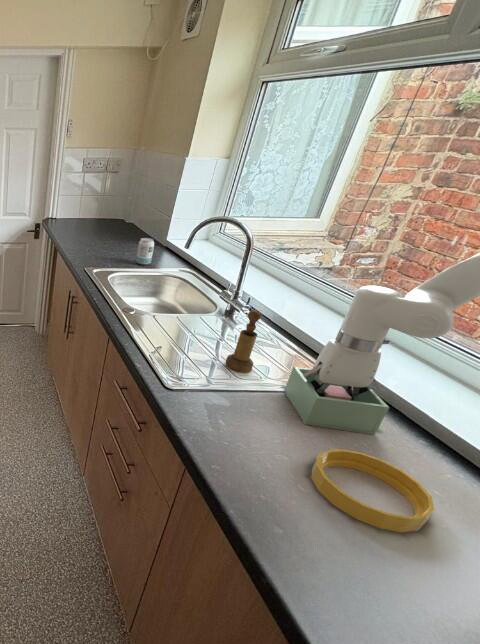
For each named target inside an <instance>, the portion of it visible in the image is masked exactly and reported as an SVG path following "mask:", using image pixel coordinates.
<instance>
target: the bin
mask: <svg viewBox="0 0 480 644" xmlns="http://www.w3.org/2000/svg"><path fill="white" fill-rule="evenodd" d="M311 369H312V368H309V367H300V366H293V367H292V370H291V372H290V374H289V377H288V380H287V382H286V385H285V387H284V390H283V392H284V394H285V395H286V397H287V398H288V400H289V402H290V403H291V404H292V406H293V408H294V409H295V412H296V413H297V414H298V416H299V417H300V419H301V420H302V422H303V423H304V425H306V426H314V427H321V428H326V429H327V428H328V429H333V430H341V431H347V432H352V433H353V432H354V433H359V434H367V435H373V436H374V435H376V434H377V431H378V430H379V428H380V426H381V424H382V422H383V421H384V420H385V419H384V418H385V417H386V415H387V413H388V411H389V409H390V407H389V405H388V404H387V403H386V402H385V401H384V400H383V399H382V398H381V397H380V396H379V395H378V394H377V393H376V392H375V391H374V389H371V390H367V391H366V392H364V393H361V394H359V396H358V397H356V398H354V399H353V401H349V400H342V399H334V398H327V397H319V395H318V394H317V393H316V391H315V390H314V388H315V387H314V386H313V385H312V384H311V383H310V382H309V381H308V380H306V379H305V377H304V376H303V374H304V373H306V372H307V371H309V370H311ZM319 377H320V376H319V374H318V375H316V376H315V377H314V378H315V380H317V379H318V378H319ZM330 385H335V386H342V387H343V388H344V390H347V386H344V385H337V384H330Z"/></svg>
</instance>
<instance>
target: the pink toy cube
mask: <svg viewBox="0 0 480 644" xmlns="http://www.w3.org/2000/svg"><path fill="white" fill-rule="evenodd" d="M324 394H325V396H324V397H327V398H334V399H342V400H349V401H351V399H352V398H351V396H350V395H349V394H348V393H347V392H346V391H345V390H344V388H343V387H342V386H335V385H329V386H328V387H327V389H326V390H325V391H324Z"/></svg>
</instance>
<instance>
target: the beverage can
mask: <svg viewBox="0 0 480 644" xmlns="http://www.w3.org/2000/svg"><path fill="white" fill-rule="evenodd" d="M154 248H155V241H154V239H153V238H150V237H142V238H140V240H139V242H138V246H137V251H136V257H135V262H136V263H137V264H138V265H141V266H149V264H151V263H152V260H153V259H152V258H153V253H154Z"/></svg>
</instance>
